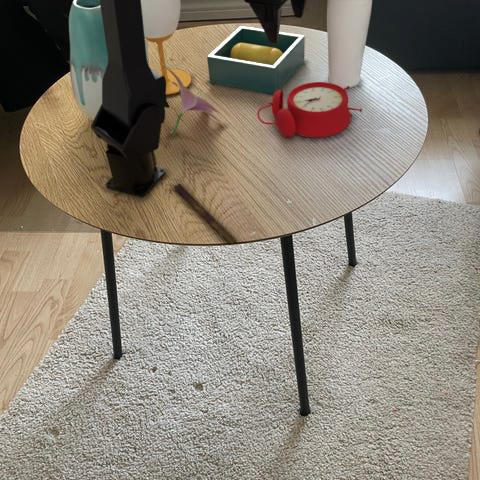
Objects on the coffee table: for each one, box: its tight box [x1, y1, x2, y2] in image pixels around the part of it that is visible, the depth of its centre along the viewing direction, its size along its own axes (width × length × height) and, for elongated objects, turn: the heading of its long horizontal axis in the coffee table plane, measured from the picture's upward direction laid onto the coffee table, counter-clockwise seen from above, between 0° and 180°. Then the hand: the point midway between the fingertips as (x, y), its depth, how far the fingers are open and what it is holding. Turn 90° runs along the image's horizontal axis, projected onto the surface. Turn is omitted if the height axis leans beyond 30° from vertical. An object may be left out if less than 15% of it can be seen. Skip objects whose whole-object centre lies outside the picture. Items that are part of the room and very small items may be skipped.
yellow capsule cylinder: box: [230, 43, 283, 65], centre depth 103 cm, size 4×10×4 cm, turn 63°
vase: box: [68, 0, 108, 122], centre depth 92 cm, size 12×12×18 cm
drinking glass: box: [326, 0, 373, 89], centre depth 95 cm, size 7×7×15 cm
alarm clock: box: [256, 81, 363, 138], centre depth 92 cm, size 10×6×15 cm
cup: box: [141, 0, 192, 96], centre depth 98 cm, size 9×9×16 cm
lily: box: [160, 63, 224, 136], centre depth 92 cm, size 12×12×10 cm
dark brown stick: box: [173, 183, 237, 246], centre depth 80 cm, size 15×1×1 cm
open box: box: [206, 25, 306, 95], centre depth 104 cm, size 13×13×5 cm
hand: (286, 29), depth 88 cm, fingers open, 9 cm apart
